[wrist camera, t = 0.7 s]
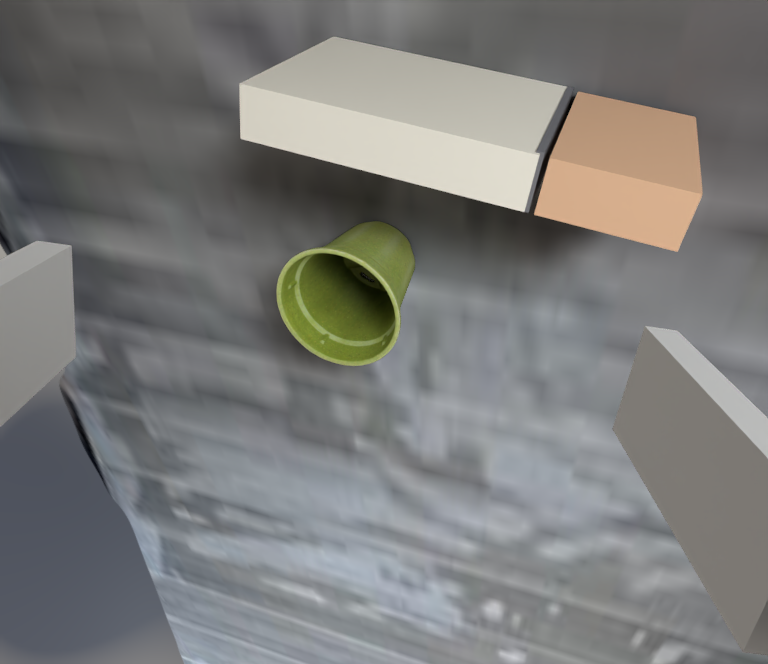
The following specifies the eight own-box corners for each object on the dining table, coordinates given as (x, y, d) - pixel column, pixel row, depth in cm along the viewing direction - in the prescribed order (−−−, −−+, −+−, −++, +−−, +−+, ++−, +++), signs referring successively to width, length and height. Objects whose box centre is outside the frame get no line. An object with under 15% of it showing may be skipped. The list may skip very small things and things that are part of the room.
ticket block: (333, 34, 44) (239, 81, 35) (574, 86, 41) (543, 154, 31) (330, 83, 46) (240, 140, 37) (560, 136, 43) (527, 214, 33)
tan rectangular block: (577, 91, 40) (549, 157, 31) (695, 117, 39) (702, 194, 30) (564, 138, 42) (533, 214, 33) (676, 164, 41) (677, 251, 32)
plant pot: (309, 267, 56) (260, 321, 49) (349, 176, 50) (299, 224, 43) (404, 324, 56) (368, 387, 49) (456, 240, 50) (422, 298, 43)
